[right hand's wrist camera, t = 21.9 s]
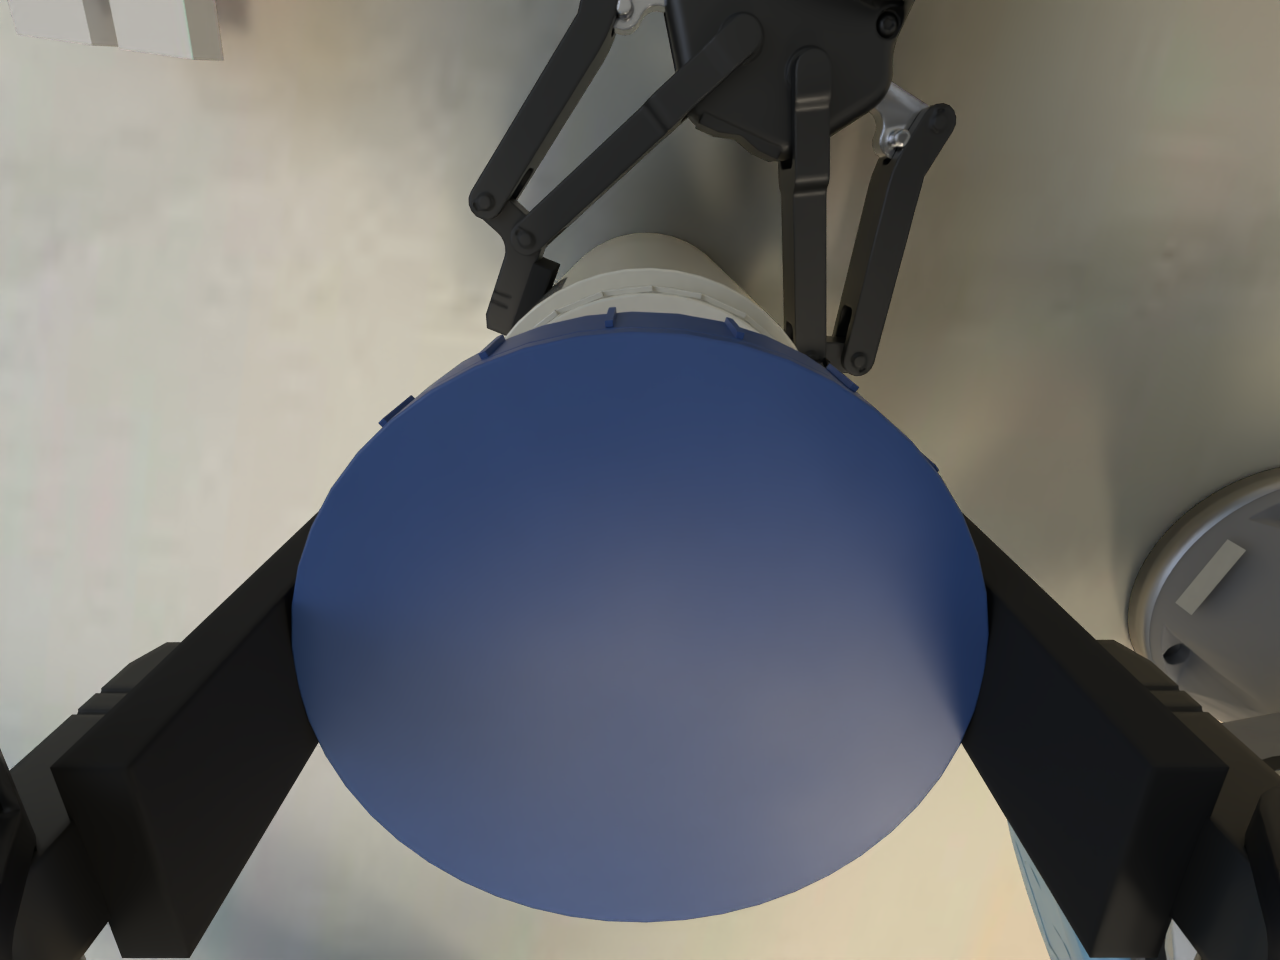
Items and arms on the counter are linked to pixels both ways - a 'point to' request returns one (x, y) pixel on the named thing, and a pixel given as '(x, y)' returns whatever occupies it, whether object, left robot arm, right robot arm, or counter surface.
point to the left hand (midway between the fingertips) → (606, 453)
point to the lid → (639, 620)
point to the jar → (649, 286)
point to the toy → (125, 25)
